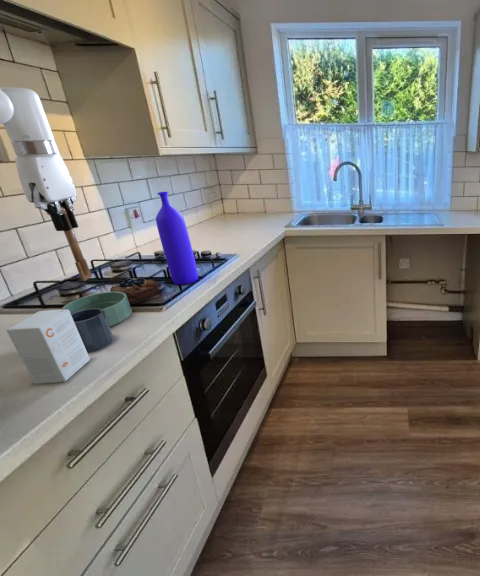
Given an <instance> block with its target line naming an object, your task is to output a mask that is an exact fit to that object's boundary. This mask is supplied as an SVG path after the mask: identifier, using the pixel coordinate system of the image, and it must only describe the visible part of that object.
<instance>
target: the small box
mask: <svg viewBox="0 0 480 576" xmlns="http://www.w3.org/2000/svg"><path fill="white" fill-rule="evenodd" d="M6 332H7V334H8V337H9V338H10V340H11V342H12V344H13V346H14V348H15V349H16V351H17V353H18V355H19V357H20V359H21V361H22V363H23V365H24V367H25V369H26V371H27V372H28V374H29V376H30V378H31V380H32V382H33V383H34V384H35V385H36V384H37V385H38V384H53V383H65V382H67V381H68V380H69V379H70V378H71V377H72V376H74V375H75V374H76V372H78V371H79V370H81V369H82V367H84V366H85V365H86V364H87V363H88V362H90V360H91V358H90V356H89V352H87V351H86V349H85V346H84V344H83V342H82V339H81V337H80V335H79V332H78V330H77V328H76V325H75V323H74V321H73V318H72V316H71V314H70V311H69V310H61V309H49V310H38V311H37V312H35V313H33V314H31V315H30V316H28V317H26V318H24V319H23V320H21V321H20V322H18V323H16V324H14V325H12V326H10V327H9V328H7V329H6Z"/></svg>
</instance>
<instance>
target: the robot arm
mask: <svg viewBox="0 0 480 576" xmlns="http://www.w3.org/2000/svg"><path fill="white" fill-rule="evenodd" d="M0 125H3V128H4V129H5V132H6V134H7V137H8V140H9V141H10V144H11V146H12V148H13V152H14V154H15V156H16V157H14V161H15V168H16V171H17V175H18V179H19V181H20V185H21V188H22V190H23V193H24V195H25V198H26V200H27V201H28V202H29V203H31V204H34V208H35V209H38V210H43V211H44V212H45V213H46V215H48V216H49V217H50V219H51V221H52V224H53V226H54V229H55V231H56V232H64V231H69V230H71V226H72V229H77V228H79V224H78V222H77V219H76V215H75V214H74V211H75V209H74V206H73V205H74V203H75V201H76V200H77V190H76V186H75V184H74V181H73V178H72V176H71V174H70V171H69V169H68V167H67V165H66V163H65V161H64V159H63V157H62V156H61V153H60V150H59V148H58V144H57V141H56V140H55V137H54V134H53V131H52V129H51V126H50V123H49V121H48V117H47V114H46V112H45V109H44V106H43V103H42V101H41V98H40V96H39V95H38V93H37V92H36V91H34V90H33V89H31V88H25V87H17V86H12V87H11V86H1V87H0ZM61 207H63V208H64V209H65V210H66V213H67V216H68V218H69V221H70V223H71V226H70V224H69V221H68V219H67V216H66V214H63V211H62V209H61Z"/></svg>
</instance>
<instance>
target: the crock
mask: <svg viewBox="0 0 480 576" xmlns="http://www.w3.org/2000/svg"><path fill="white" fill-rule="evenodd" d="M71 316H72V318H73V321H74V323H75V325H76V328H77V330H78V332H79V335H80V337H81V339H82V342H83V344H84V346H85V349H86V351H87V353H92V352H96V351H99V350H102V349H104V348H106V347H108V346H110V345H111V344H113V342H114V341H115V338H114V335H113V332H112V330H111V326H109V324H108V321H107V319H106V316H105V313H104V311H103V310H102V309H100V308H91V309H85V310H81V311H78V312H75V313H73V314H71Z"/></svg>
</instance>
